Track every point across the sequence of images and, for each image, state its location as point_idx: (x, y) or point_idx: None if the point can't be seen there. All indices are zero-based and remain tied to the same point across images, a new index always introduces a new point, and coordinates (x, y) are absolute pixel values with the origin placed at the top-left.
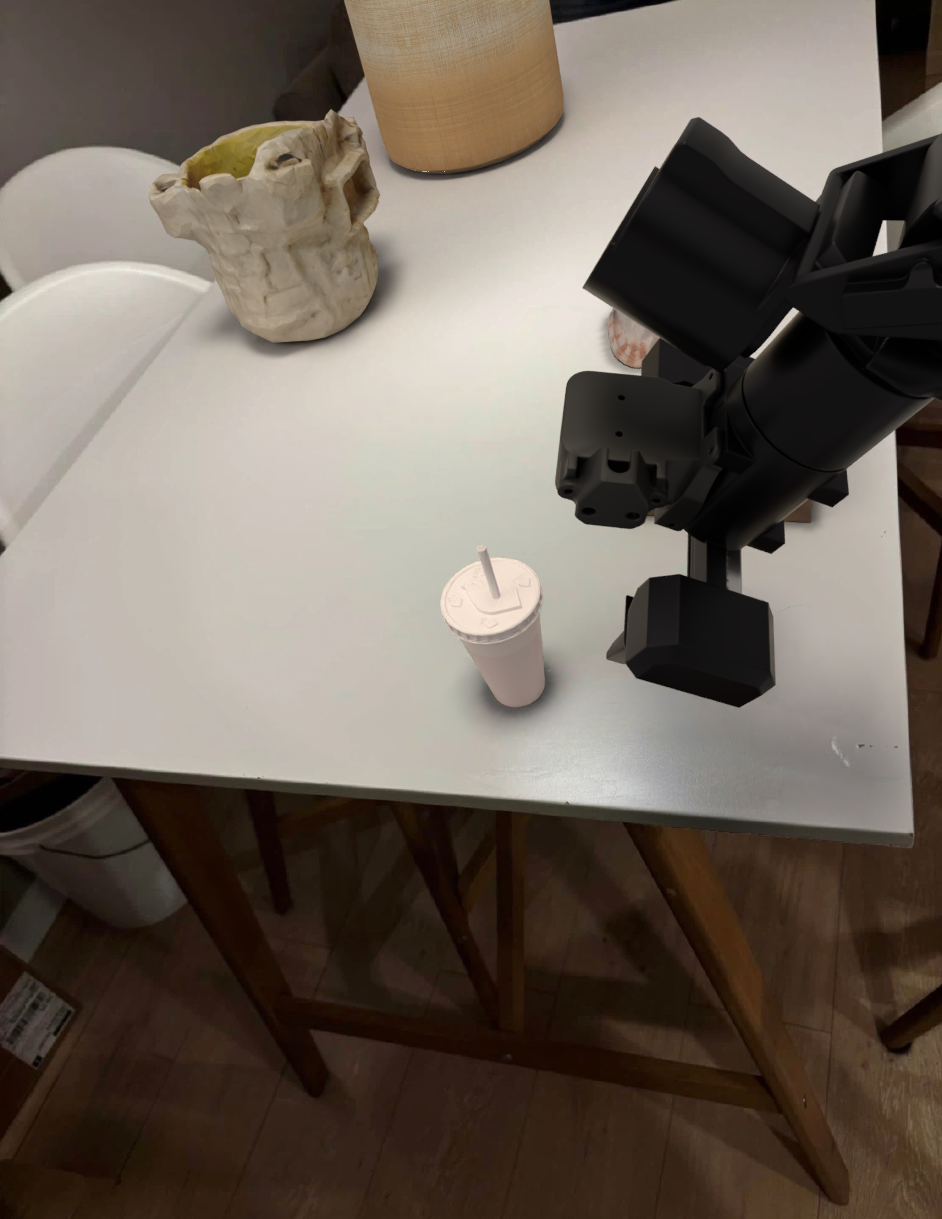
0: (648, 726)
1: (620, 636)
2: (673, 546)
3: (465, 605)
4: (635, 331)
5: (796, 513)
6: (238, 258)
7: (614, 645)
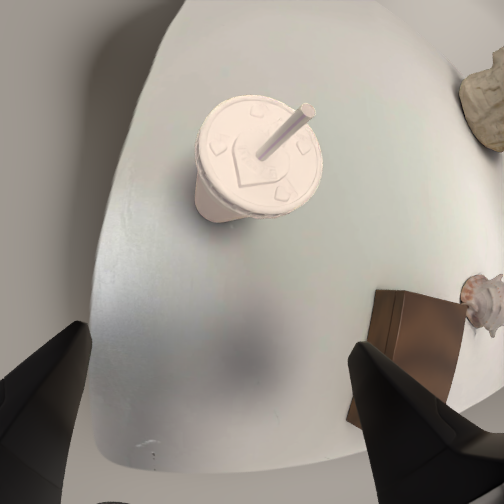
0: (165, 314)
1: (43, 371)
2: (344, 331)
3: (251, 120)
4: (478, 293)
5: (353, 414)
6: (493, 77)
7: (55, 348)
